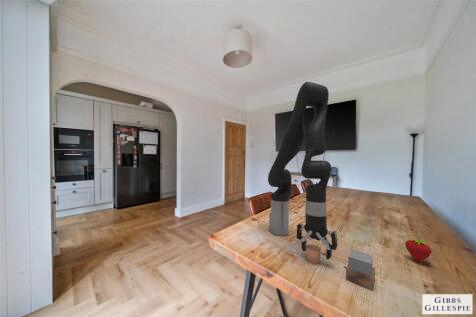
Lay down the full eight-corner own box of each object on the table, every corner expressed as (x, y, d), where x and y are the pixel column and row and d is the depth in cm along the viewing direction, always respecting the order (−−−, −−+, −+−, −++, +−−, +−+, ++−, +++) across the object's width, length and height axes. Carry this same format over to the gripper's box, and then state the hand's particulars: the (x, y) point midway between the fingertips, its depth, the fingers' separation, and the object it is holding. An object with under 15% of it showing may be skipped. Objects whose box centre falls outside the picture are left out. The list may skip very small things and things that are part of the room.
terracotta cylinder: (304, 260, 68) (304, 248, 68) (308, 255, 72) (309, 243, 72) (317, 266, 65) (318, 252, 65) (322, 260, 68) (322, 247, 68)
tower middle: (348, 268, 58) (348, 256, 58) (351, 260, 62) (351, 249, 62) (371, 277, 54) (371, 264, 54) (372, 267, 58) (372, 255, 58)
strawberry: (411, 255, 73) (412, 230, 73) (435, 266, 65) (436, 239, 65) (400, 256, 71) (401, 232, 71) (423, 268, 64) (424, 241, 64)
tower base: (345, 280, 58) (346, 268, 58) (350, 270, 63) (350, 259, 63) (372, 291, 53) (373, 278, 53) (374, 279, 58) (375, 267, 58)
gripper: (338, 213, 66) (338, 257, 66) (301, 207, 75) (300, 245, 75) (334, 219, 60) (334, 266, 61) (293, 211, 70) (293, 252, 70)
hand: (315, 254), depth 68 cm, fingers open, 8 cm apart
